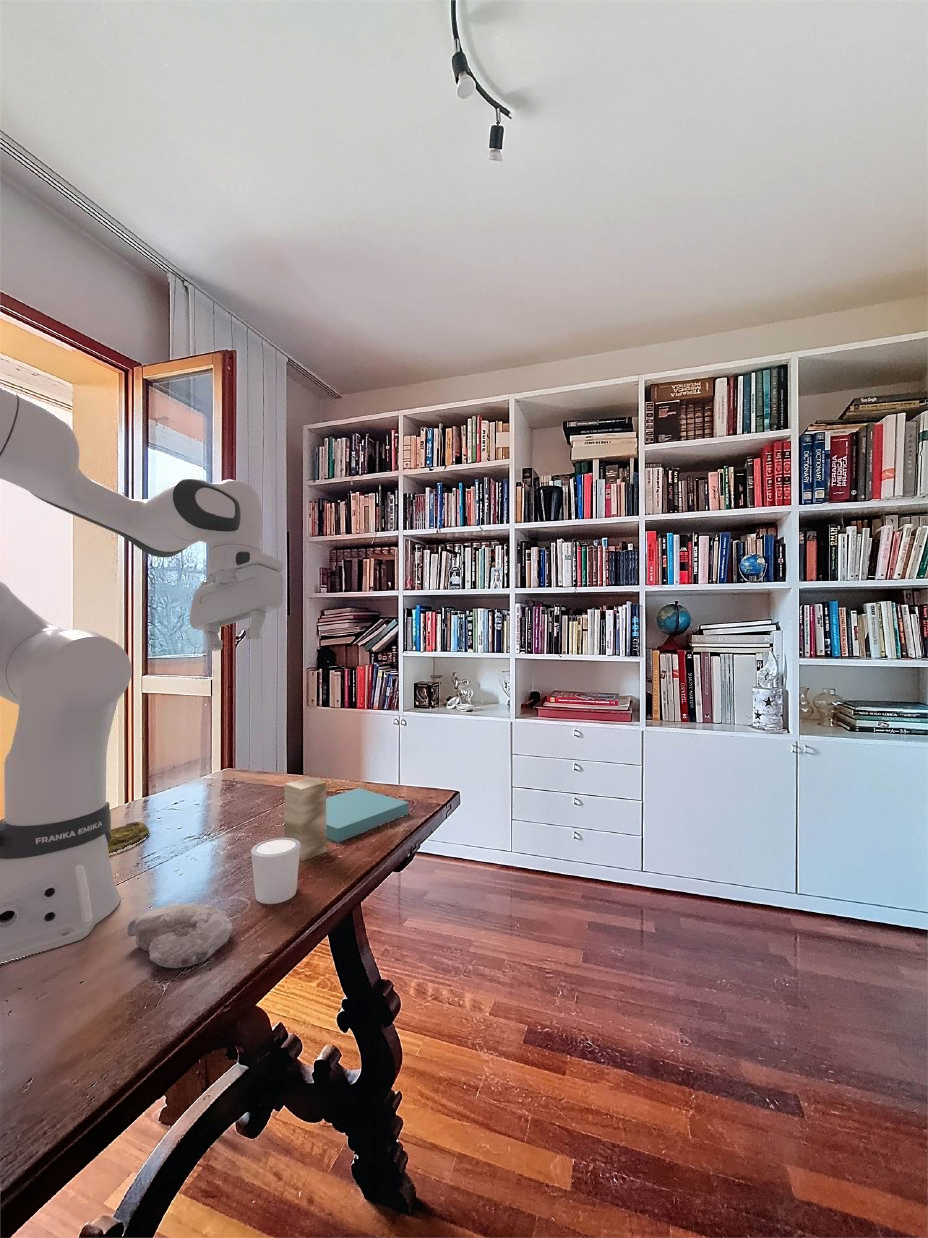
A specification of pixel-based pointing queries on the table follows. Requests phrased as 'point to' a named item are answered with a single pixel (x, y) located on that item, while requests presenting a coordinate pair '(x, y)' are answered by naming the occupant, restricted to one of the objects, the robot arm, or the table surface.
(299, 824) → the birch block
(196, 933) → the fossil
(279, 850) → the shot glass
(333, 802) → the teal board
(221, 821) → the table surface
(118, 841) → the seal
